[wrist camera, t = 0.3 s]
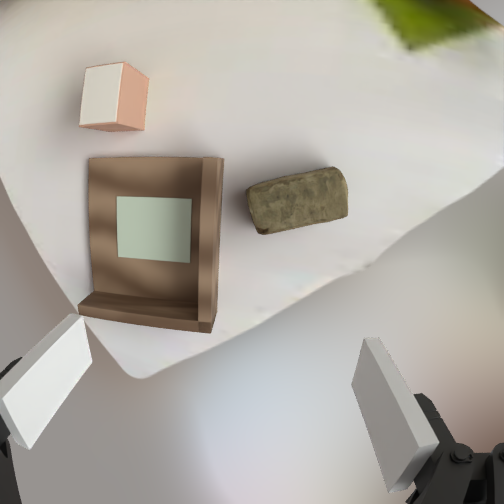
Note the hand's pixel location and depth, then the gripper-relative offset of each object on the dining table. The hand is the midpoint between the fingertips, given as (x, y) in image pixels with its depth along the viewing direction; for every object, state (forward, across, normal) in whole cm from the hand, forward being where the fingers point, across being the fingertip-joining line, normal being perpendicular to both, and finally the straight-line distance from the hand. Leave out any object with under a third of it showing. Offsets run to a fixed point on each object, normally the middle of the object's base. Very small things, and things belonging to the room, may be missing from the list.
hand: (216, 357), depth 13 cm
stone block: (+27, +6, +4) cm, 28 cm away
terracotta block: (+27, -16, +16) cm, 35 cm away
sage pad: (+26, -12, 0) cm, 28 cm away
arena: (+27, -12, -1) cm, 29 cm away
